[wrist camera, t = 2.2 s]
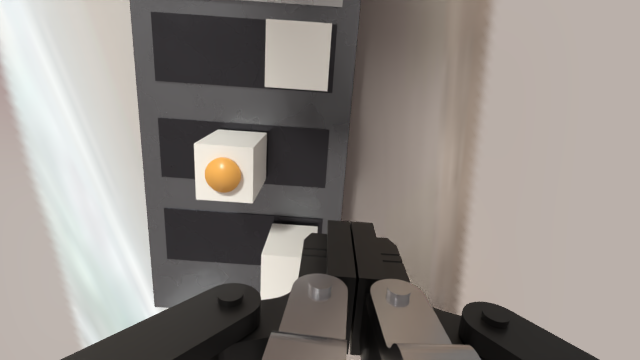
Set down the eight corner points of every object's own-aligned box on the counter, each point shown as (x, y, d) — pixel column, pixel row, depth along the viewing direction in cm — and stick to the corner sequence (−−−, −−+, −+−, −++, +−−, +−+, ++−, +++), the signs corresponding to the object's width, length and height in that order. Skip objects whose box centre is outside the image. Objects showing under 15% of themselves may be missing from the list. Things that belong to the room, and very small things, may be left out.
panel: (141, -62, 22) (121, -75, 20) (362, -46, 22) (366, -58, 19) (166, 290, 29) (153, 308, 27) (331, 302, 29) (331, 321, 27)
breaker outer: (272, 223, 24) (261, 254, 20) (317, 226, 24) (315, 258, 20) (271, 263, 25) (260, 301, 21) (315, 266, 25) (312, 304, 21)
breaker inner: (278, 27, 21) (266, 18, 17) (331, 31, 21) (332, 23, 17) (276, 82, 22) (264, 86, 18) (327, 86, 22) (327, 91, 18)
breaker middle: (217, 129, 22) (191, 144, 18) (267, 132, 22) (252, 149, 18) (218, 176, 23) (193, 201, 19) (265, 179, 23) (251, 205, 19)
